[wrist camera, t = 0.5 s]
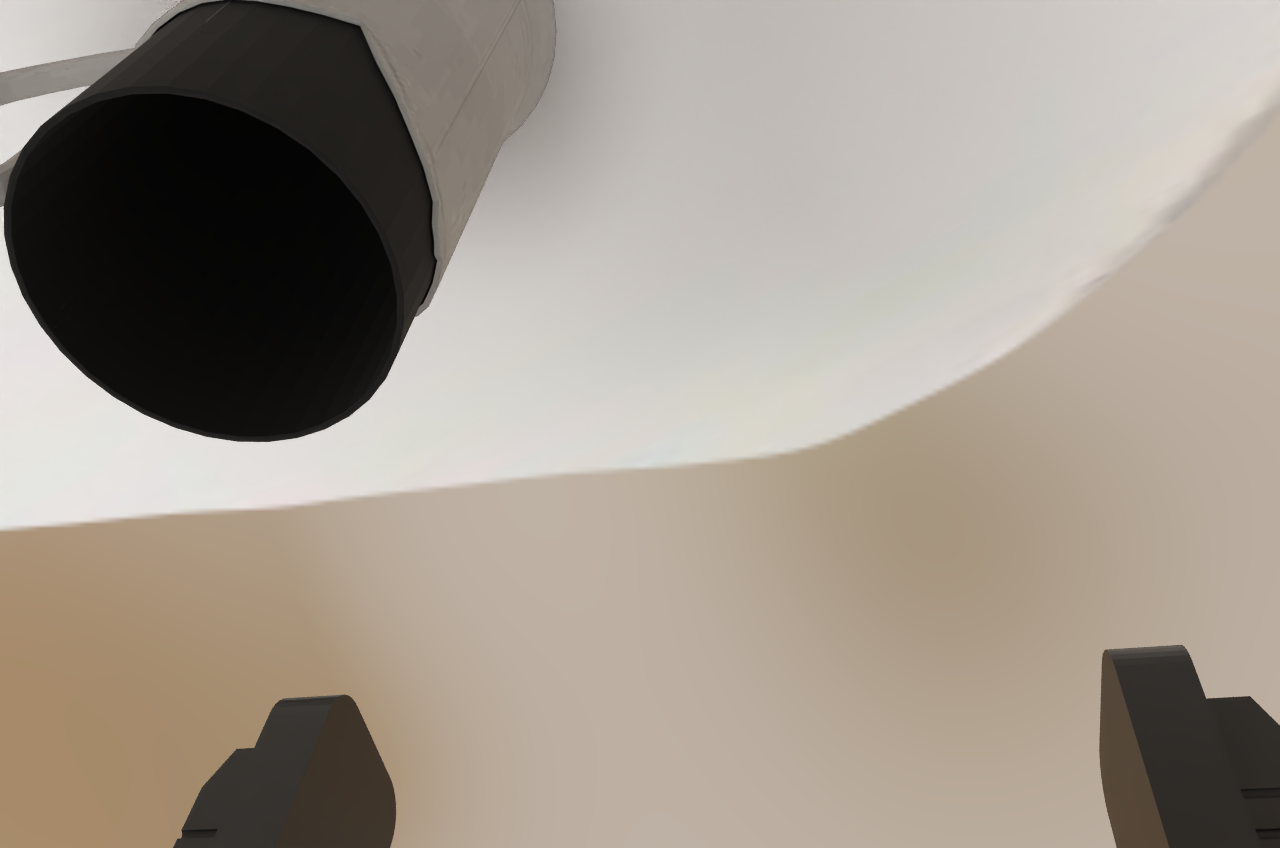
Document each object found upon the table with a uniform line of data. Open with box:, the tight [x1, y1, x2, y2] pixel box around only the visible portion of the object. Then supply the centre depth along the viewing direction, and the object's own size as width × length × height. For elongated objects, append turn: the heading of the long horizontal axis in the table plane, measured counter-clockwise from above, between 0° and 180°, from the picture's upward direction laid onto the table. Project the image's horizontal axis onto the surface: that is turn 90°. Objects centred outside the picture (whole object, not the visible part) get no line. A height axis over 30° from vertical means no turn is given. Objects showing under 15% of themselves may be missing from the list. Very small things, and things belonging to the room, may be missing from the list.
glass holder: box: [0, 0, 556, 442], centre depth 29 cm, size 9×14×15 cm, turn 88°
